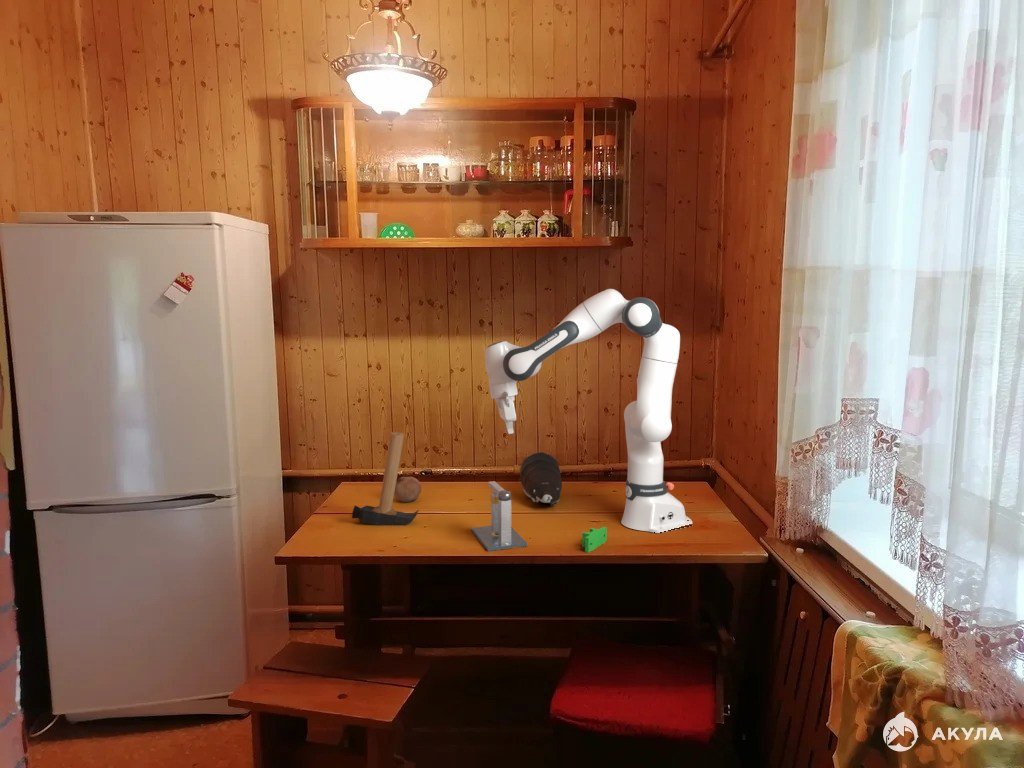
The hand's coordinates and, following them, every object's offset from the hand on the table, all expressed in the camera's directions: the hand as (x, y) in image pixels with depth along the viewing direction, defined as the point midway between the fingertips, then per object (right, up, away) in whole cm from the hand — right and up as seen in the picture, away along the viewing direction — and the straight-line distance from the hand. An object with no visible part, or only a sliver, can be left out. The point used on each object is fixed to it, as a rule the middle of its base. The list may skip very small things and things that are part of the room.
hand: (510, 433), depth 230 cm
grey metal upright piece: (-4, -29, -19) cm, 35 cm away
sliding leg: (-4, -29, -18) cm, 34 cm away
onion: (-36, -25, +19) cm, 48 cm away
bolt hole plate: (-4, -30, -18) cm, 36 cm away
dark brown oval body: (+11, -26, +19) cm, 34 cm away
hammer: (-40, -29, -4) cm, 49 cm away
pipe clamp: (+24, -32, -24) cm, 46 cm away
